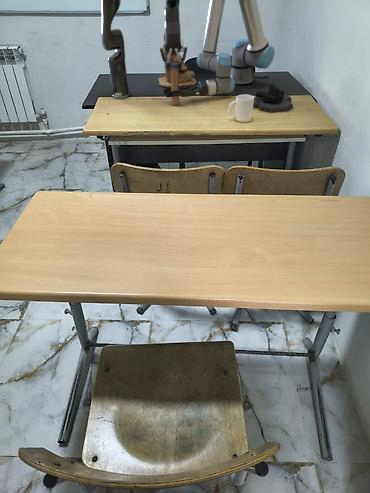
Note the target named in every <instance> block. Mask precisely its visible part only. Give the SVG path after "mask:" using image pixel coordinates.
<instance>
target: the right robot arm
mask: <svg viewBox="0 0 370 493" xmlns="http://www.w3.org/2000/svg"><path fill="white" fill-rule="evenodd" d="M237 2H238V5H239V9H240V13H241V17H242V20H243V25H244V30H245V33H246V34H245V35H246V37H247V38H242V39H236V40H234V41H233V42H232V48H231V54H230V53H228V52H220V53H218V54H217V49H218V44H219V43H218V42H219V38H220V32H221V26H222V21H223V15H224V8H225V3H226V0H209V5H208V12H207V19H206V26H205V30H204V38H203V43H202V45H203V46H202V51H201V53H199V54H198V55H197V57H196V65H197V67H198V68H200V69H202V70H205V71H206V70H207V71H210V72H214V73H215V74H216V76H215V77H216V78H215V79H213V78H212V79H207V80H199V81H198V83H197V84H194V85H192V84H188V85H182V86H179V92H178V91H171V87H169V88H163V95H164V96H165V97H166V99H167V98H171V97H177V96H179V97H181V98H188V97H196V96H197V97H198V96H200V97H207V96H213V95H220V94H228V93H232V92H233V91H234V90H235V87H236V86H247V85H250V84H253V81H254V79H266V78H269V75H264V76H263V75H262V76H259V75H258V76H257V75H256V76H255V75H253V74H252V67H253V68H258V69H263V70H264V69H267V68H269V67H270V66H271V65H272V63H273V61H274V58H275V55H276V54H275V53H276V50H275V47H274V46H272V45H270V43H269V39H268V37H266V36H265V34H264V29H263V24H262V20H261V13H260V9H259V4H258V0H237ZM216 54H217V55H216Z"/></svg>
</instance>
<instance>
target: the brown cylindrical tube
mask: <svg viewBox="0 0 370 493" xmlns="http://www.w3.org/2000/svg"><path fill="white" fill-rule="evenodd" d="M170 74H171V87H170V88H171V91H178V92H179V70H178V68H171V69H170ZM170 99H171V105H172V106H179V105H180V96H177V97H170Z"/></svg>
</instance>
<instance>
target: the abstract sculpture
mask: <svg viewBox="0 0 370 493" xmlns="http://www.w3.org/2000/svg"><path fill="white" fill-rule="evenodd" d="M253 97H254V103H253V108H258V109H259V110H260V111H262V112H263V111H264V112H268V113H278V112H288V111H289V110H291V109H293V106H294V105H293V103H292V102H291V101H292V97H291V96H290V95H289V94H285V90H282V89H280V88H279V87H278V86H276V85H275V84H274V83H269V86H268V91H267V92H266V91H263V90H261V91H260V90H259V91H257V92H255V96H253Z"/></svg>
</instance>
